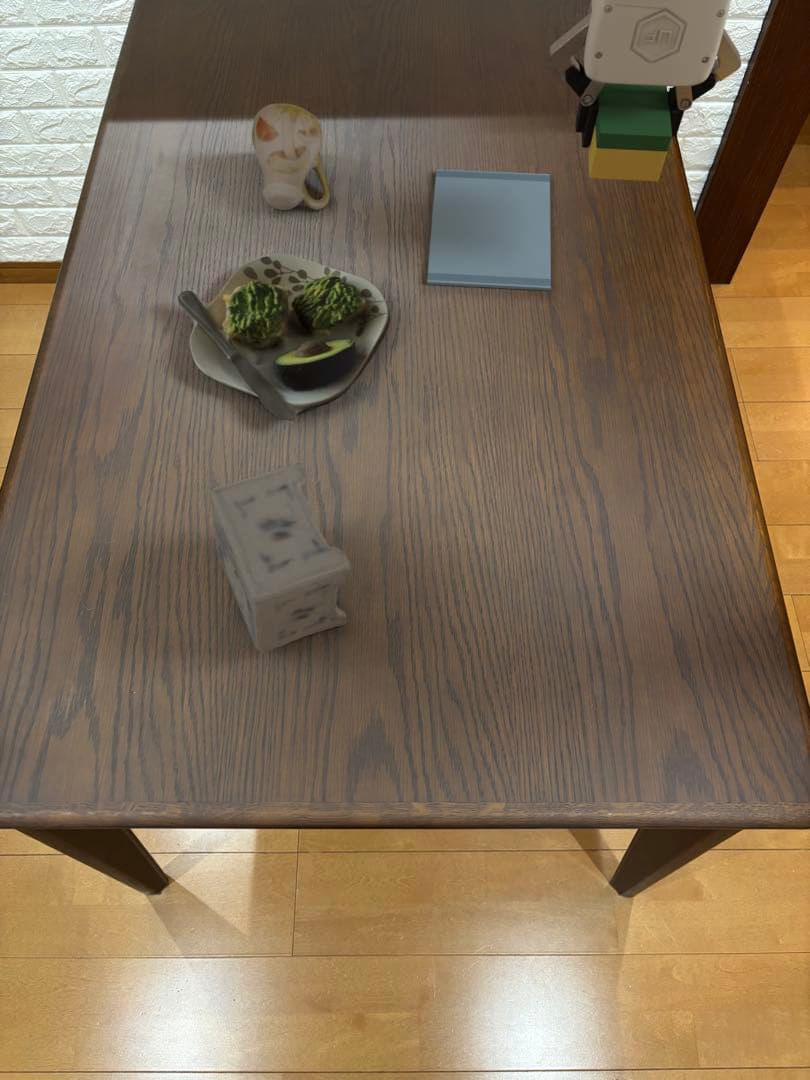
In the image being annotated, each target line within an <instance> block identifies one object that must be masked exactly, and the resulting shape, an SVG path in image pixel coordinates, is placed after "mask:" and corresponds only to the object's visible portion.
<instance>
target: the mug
mask: <svg viewBox="0 0 810 1080" xmlns="http://www.w3.org/2000/svg"><path fill="white" fill-rule="evenodd" d="M251 139H252V146H253V149H254V152H255V155H256V158H257V162H258V163H259V166H260V169H261V173H262V178H263V180H262V181H263V183H262V184H263V185H262V196H263V199H264V201H266V203H267V204H268V205H269V206H271V207H272V208H274V209H276V210H280V211H288V210H292V209H294V208H295V207H297V206H299V204H301V202H302V201H303V203H304V204H305V205H306V206H307V207H308V208H310V209H311V210H314V211H318V210H321V209H323V208H325V207H326V206H327V205H328V204H329V202H330V198H331V193H330V188H329V185H328V181H327V179H326V176H325V172H324V167H323V164H322V163H323V161H322V156H321V150H322V146H323V131H322V126H321V123H320V122H319V120H318V118H317V117H316V116H315V115H314V114H313V113H311V112H310V111H309V110H307V109H305V108H303V107H301V106H298V105H295V104H292V103H285V102H283V103H270V104H268V105H265V106H264V107H262V108H260V109H259V111H258V112H257V113H256V114H255V116H254V120H253V124H252V129H251ZM312 170H313V171H315V174H316V175H315V176H316V177H317V179H318V181H319V184H320V186H321V190H322V193H323V195H322V198H320V199H314V198H312V197H311V196H310V194H309V193H308V189H307V187H306V184H305V181H306V180H307V177H308V176H309V174H310V173H311V171H312Z"/></svg>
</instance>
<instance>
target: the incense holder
mask: <svg viewBox="0 0 810 1080" xmlns="http://www.w3.org/2000/svg"><path fill="white" fill-rule="evenodd" d="M307 482H309V476H308V473H307V472H306V469H305V467H304V465H303V464H302V463H301V462H298V463H293V464H290V465H289V464H288V465H286V466H282V467H279V468H276V469H274V470H269V471H267V472H263V473H259V474H256V475H253V476H250V477H248V478H244V479H240V480H236V481H233V482H232V483H228V484H224V485H221V486H217V487H216V486H215V487H213V488H211V489H210V492H209V495H208V496H209V502H210V509H211V515H212V519H213V520H212V523H213V529H214V537H215V539H214V540H215V549H216V554H217V557H218V560H219V563H220V566H221V567H222V569H223V571H224V574H225V575H226V578H227V580H228V583H229V585H230V588H231V590H232V592H233V595H234V597H235V600H236V603H237V605H238V608H239V610H240V612H241V615H242V617H243V620H244V623H245V626H246V628H247V631H248V633H249V636H250V639H251V641H252V644H253V646H254V648H255V649H256V650H257V651H258V652H259V653H260V654H267V653H269V652H272V651H273V650H275V649H279V648H280V647H283V646H286V645H288V644H290V643H292V642H294V641H299V640H300V639H302V638H305V637H307V636H311V635H314V634H317V633H321V632H324V631H326V630H330V629H334V628H337V627H342V626H345V625H347V622H348V616H347V613H346V612H345V611H344V610H343V609H341V608H340V607H338V605H337V601H338V599H339V598H338V590H339V588H340V587H341V586H343V585H345V584H347V583H349V582H350V580H351V577H352V565H351V562H350V560H349V558H348V556H347V554H346V553H345V552H344V551H342V550H341V549H340V548H339V547H338V546H331V545H330V544H329V543H328V542H327V540H326V538H325V537H324V535H323V534H322V532H321V530H320V527H319V525H318V522H317V520H316V518H315V517H314V514H313V513H314V512H313V511H312V509H311V506H310V504H309V503H308V501H307V499H306V497H305V495H304V493H303V487H304V485H306V484H307Z"/></svg>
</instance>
